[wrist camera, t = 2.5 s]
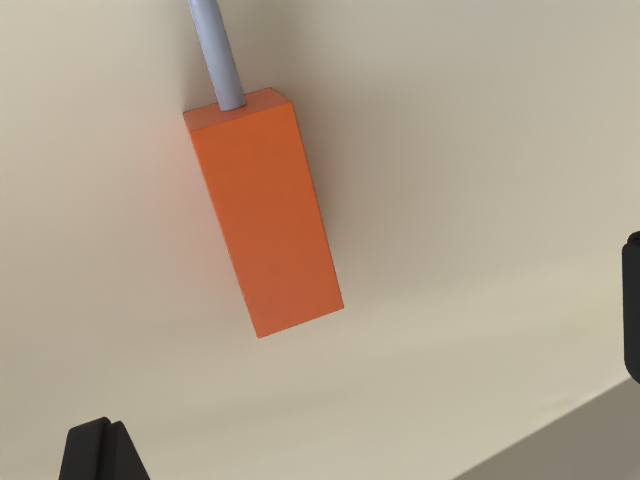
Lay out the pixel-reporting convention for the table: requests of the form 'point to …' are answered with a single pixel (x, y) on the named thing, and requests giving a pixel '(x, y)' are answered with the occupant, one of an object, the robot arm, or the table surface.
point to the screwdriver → (261, 191)
